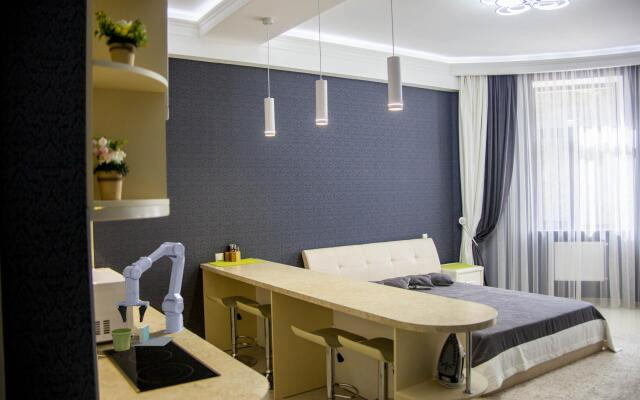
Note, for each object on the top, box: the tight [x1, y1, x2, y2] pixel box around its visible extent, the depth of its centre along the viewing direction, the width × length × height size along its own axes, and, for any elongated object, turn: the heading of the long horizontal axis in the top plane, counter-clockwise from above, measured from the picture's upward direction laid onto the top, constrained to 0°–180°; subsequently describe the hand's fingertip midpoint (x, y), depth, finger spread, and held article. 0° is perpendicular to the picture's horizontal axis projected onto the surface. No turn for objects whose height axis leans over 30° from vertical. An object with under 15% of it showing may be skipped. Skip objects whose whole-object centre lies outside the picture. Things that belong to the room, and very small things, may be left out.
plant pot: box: [109, 327, 134, 352], centre depth 238 cm, size 9×9×9 cm
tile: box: [138, 323, 150, 343], centre depth 250 cm, size 7×2×7 cm, turn 175°
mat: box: [130, 336, 176, 347], centre depth 250 cm, size 14×16×1 cm
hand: (133, 322), depth 248 cm, fingers open, 7 cm apart
